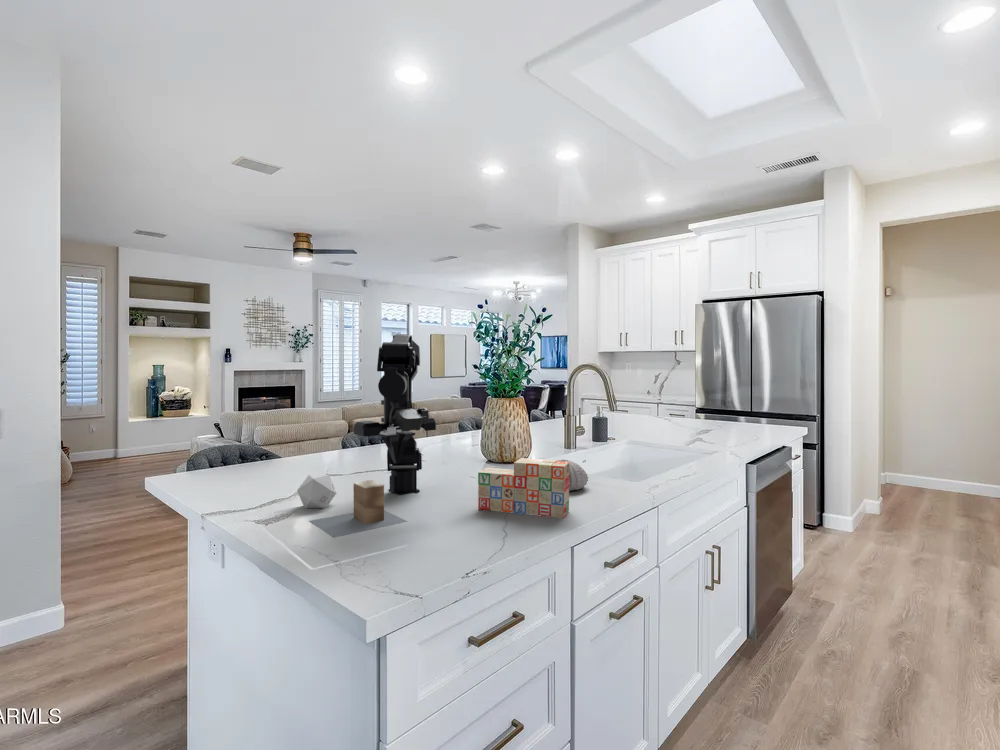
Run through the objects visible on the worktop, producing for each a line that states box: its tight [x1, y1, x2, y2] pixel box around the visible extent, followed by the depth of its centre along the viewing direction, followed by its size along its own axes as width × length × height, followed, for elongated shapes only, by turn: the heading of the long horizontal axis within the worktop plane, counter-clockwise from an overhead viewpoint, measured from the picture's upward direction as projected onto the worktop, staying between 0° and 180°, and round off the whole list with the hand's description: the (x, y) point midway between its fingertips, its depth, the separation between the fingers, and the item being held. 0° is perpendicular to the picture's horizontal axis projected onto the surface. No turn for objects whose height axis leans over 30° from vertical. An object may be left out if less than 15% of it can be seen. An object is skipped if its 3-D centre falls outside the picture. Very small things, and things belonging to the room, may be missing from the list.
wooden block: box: [353, 479, 385, 524], centre depth 120 cm, size 4×6×8 cm
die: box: [296, 474, 338, 509], centre depth 130 cm, size 8×9×10 cm
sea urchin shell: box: [557, 459, 589, 492], centre depth 151 cm, size 13×14×8 cm
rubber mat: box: [308, 509, 409, 538], centre depth 118 cm, size 17×14×1 cm
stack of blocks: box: [477, 457, 570, 519], centre depth 128 cm, size 21×6×12 cm, turn 71°
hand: (396, 462), depth 124 cm, fingers closed
